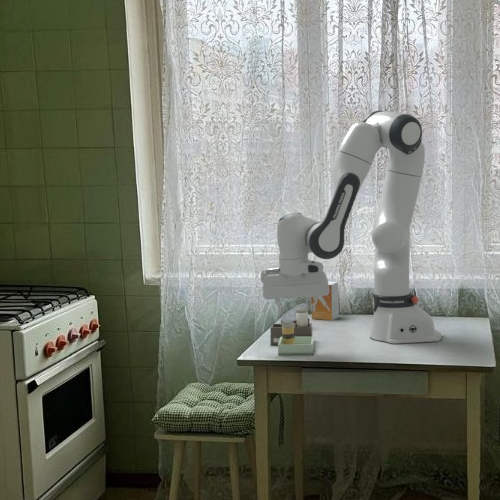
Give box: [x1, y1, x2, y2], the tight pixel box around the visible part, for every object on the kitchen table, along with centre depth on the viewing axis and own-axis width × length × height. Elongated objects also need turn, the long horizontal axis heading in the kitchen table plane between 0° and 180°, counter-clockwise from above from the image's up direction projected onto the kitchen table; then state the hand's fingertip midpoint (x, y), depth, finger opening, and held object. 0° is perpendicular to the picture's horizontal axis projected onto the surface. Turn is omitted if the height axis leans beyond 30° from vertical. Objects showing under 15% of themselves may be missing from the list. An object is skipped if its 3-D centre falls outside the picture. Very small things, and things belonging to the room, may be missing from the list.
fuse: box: [296, 307, 309, 327], centre depth 263 cm, size 4×4×8 cm
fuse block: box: [269, 323, 313, 346], centre depth 264 cm, size 13×6×6 cm, turn 84°
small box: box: [310, 280, 340, 321], centre depth 298 cm, size 8×6×13 cm
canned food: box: [280, 302, 310, 324], centre depth 285 cm, size 11×10×10 cm
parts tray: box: [277, 336, 315, 356], centre depth 254 cm, size 10×10×3 cm
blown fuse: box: [282, 321, 295, 344], centre depth 254 cm, size 4×4×8 cm
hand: (297, 311), depth 253 cm, fingers open, 8 cm apart
